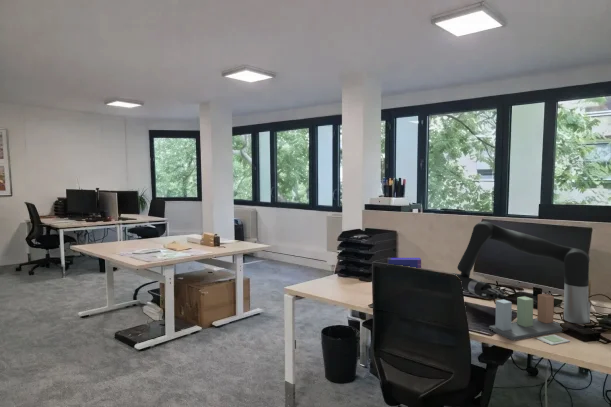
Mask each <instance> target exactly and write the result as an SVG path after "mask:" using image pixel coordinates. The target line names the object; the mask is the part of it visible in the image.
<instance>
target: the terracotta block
mask: <svg viewBox="0 0 611 407" xmlns="http://www.w3.org/2000/svg"><path fill="white" fill-rule="evenodd" d="M554 298H555V296H554V295H551V294H548V293H540V294H537V317H536V318H537V320H538V321H541V322H543V323H552V322H553V321H554V316H555V315H554V306H555V300H554Z"/></svg>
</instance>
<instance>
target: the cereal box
mask: <svg viewBox="0 0 611 407" xmlns="http://www.w3.org/2000/svg"><path fill="white" fill-rule="evenodd" d="M388 264H394V265H403V266H410V267H416V268H421V269H422V258H421V257H387V265H388Z"/></svg>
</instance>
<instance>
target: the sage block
mask: <svg viewBox="0 0 611 407" xmlns="http://www.w3.org/2000/svg"><path fill="white" fill-rule="evenodd" d="M516 299H517V300H516V322H517V324H519V325H521V326H524V327H529V326H533V319H534V298H531V297H528V296H519V297H516Z"/></svg>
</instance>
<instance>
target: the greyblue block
mask: <svg viewBox="0 0 611 407" xmlns="http://www.w3.org/2000/svg"><path fill="white" fill-rule="evenodd" d="M512 306H513V304H512V301H510V300H504V299H503V300H501V299H496V300H495V321H494V322H495V324H494V325H495V327H496V328H498V329H500V330H502V331H505V330H511V322H512V318H513V317H512V316H513V314H512V313H513V312H512V308H513V307H512Z"/></svg>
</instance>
